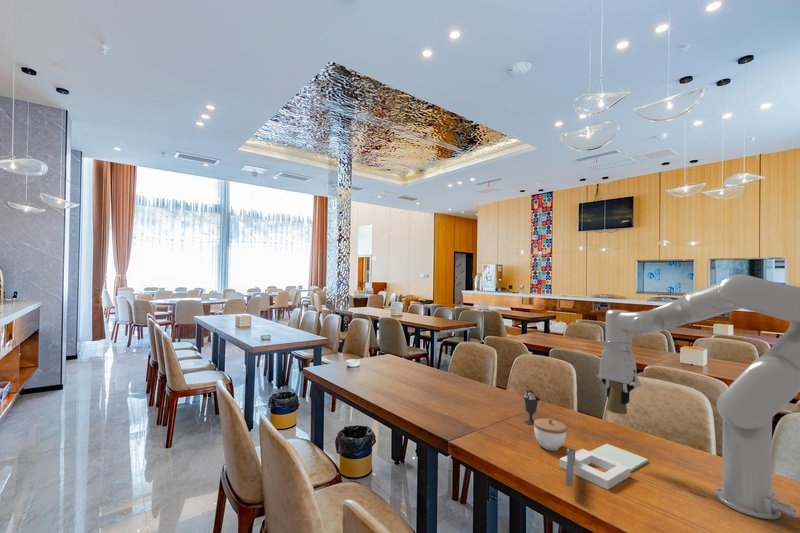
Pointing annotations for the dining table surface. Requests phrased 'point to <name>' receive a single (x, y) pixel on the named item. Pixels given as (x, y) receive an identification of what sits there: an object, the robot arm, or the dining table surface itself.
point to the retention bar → (570, 466)
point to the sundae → (530, 404)
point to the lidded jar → (550, 433)
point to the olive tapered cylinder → (616, 398)
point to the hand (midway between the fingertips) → (617, 401)
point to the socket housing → (593, 475)
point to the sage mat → (620, 456)
